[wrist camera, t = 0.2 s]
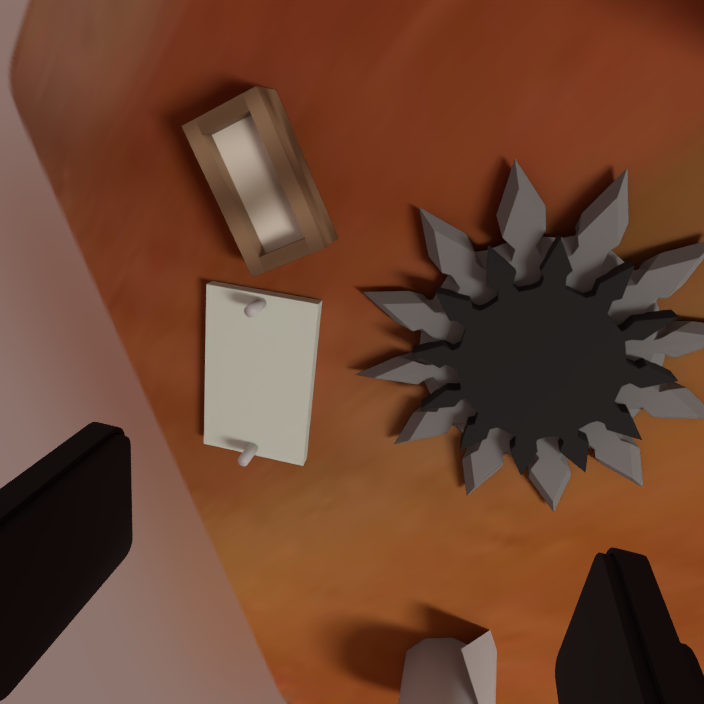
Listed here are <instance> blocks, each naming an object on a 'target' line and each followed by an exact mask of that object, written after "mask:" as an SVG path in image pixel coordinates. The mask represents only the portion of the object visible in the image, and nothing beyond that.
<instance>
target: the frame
mask: <svg viewBox="0 0 704 704" xmlns="http://www.w3.org/2000/svg"><path fill="white" fill-rule="evenodd" d="M182 128H183V130H184V133H185V135H186V137H187V139H188V141H189V143H190V145H191V147H192V150H193V152H194V154H195V156H196V158H197V160H198V162H199V165H200V167H201V169H202V171H203V173H204V175H205V177H206V179H207V182H208V184H209V186H210V188H211V190H212V192H213V194H214V196H215V199H216V201H217V203H218V205H219V207H220V209H221V211H222V214H223V216H224V218H225V220H226V222H227V224H228V226H229V228H230V231H231V233H232V235H233V237H234V239H235V241H236V243H237V246H238V248H239V250H240V252H241V254H242V256H243V258H244V260H245V263H246V265H247V267H248V269H249V271H250V273H251V275H252V277H254V276H257V275H259V274H262V273H264V272H266V271H269V270H271V269H274V268H276V267H279V266H281V265H284V264H286V263H289V262H291V261H294V260H296V259H298V258H301V257H303V256H306V255H308V254H311V253H313V252H316V251H318V250H321V249H323V248H326V247H327V246H328V245H330V244H331V243H332V242H334V241H335V240H337V239H338V237H337V235H336V232H335V230H334V227H333V225H332V223H331V220H330V218H329V216H328V213H327V211H326V208H325V206H324V204H323V201H322V199H321V196H320V194H319V192H318V189H317V187H316V184H315V182H314V180H313V177H312V175H311V173H310V170H309V168H308V165H307V163H306V161H305V158H304V156H303V153H302V151H301V149H300V146H299V144H298V142H297V139H296V137H295V134H294V132H293V130H292V127H291V125H290V122H289V120H288V118H287V115H286V113H285V111H284V108H283V106H282V103H281V101H280V99H279V96H278V94H277V91H276V90H274V89H269V88H265V87H260V86H255V87H253V88H252V89H250V90H248V91H246V92H244V93H242V94H240V95H238V96H237V97H235V98H233V99H231V100H229V101H227V102H225V103H224V104H222V105H220V106H218V107H216V108H214V109H212V110H210V111H209V112H207V113H205V114H203V115H201V116H199V117H197V118H196V119H194V120H192V121H190V122H188V123H186V124H184V125H182Z"/></svg>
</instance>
